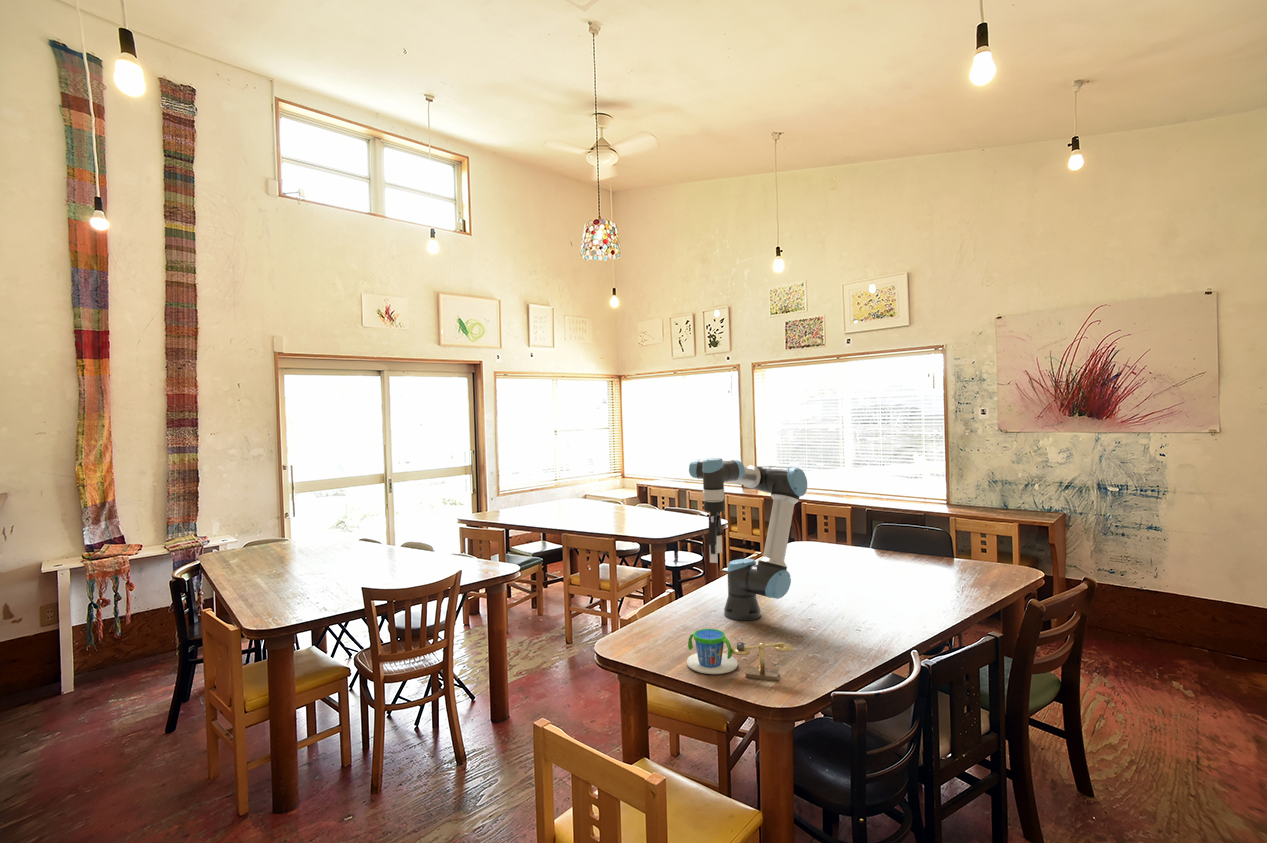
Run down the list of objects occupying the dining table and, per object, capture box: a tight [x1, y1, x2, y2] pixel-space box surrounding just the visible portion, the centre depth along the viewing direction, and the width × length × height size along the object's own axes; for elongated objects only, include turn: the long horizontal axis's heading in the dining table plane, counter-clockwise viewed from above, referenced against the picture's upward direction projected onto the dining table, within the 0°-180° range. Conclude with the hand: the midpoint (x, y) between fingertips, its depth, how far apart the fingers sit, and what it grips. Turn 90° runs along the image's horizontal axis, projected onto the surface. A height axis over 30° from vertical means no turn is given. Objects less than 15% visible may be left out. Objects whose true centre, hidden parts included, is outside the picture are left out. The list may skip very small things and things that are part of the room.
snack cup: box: [687, 628, 733, 668], centre depth 202 cm, size 16×10×10 cm
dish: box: [686, 652, 739, 675], centre depth 204 cm, size 17×17×1 cm
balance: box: [731, 641, 794, 682], centre depth 196 cm, size 6×20×11 cm, turn 73°
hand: (716, 557), depth 223 cm, fingers open, 13 cm apart
